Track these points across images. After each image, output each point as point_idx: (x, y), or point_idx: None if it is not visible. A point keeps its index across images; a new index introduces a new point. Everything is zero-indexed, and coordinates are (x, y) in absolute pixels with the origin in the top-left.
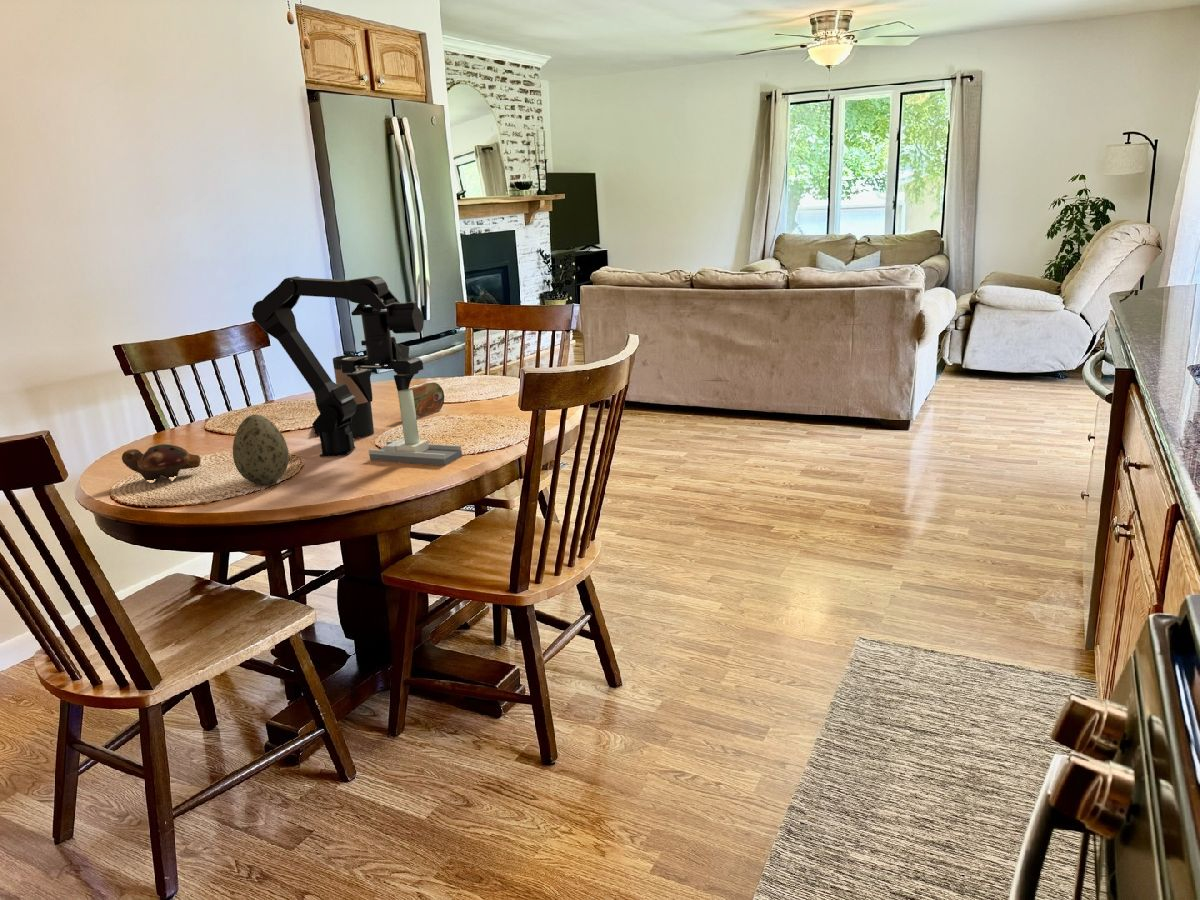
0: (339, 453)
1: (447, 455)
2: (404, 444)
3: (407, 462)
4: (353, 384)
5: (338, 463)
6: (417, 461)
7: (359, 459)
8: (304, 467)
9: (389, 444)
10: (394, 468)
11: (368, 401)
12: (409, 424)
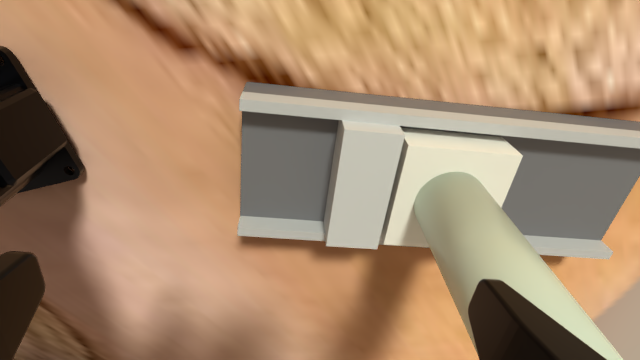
0: (43, 175)
1: (604, 209)
2: (418, 226)
3: None
4: None
5: (135, 248)
6: None
7: (185, 199)
8: None
9: (336, 225)
10: (396, 269)
11: (30, 300)
12: None
